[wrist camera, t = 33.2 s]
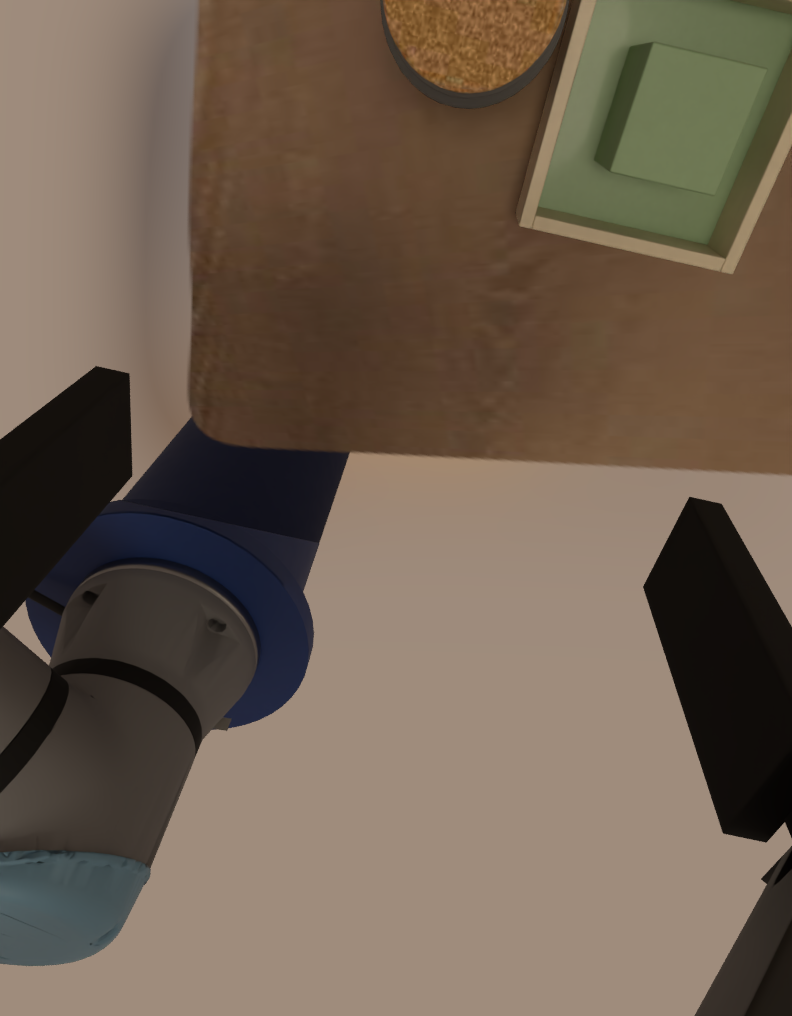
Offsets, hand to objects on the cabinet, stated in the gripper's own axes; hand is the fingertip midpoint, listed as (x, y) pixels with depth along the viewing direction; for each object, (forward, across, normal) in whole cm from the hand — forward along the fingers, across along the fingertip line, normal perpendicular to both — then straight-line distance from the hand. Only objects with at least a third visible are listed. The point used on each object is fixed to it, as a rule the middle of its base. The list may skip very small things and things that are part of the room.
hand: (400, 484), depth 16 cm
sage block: (+22, +8, +8) cm, 25 cm away
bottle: (+23, -1, +10) cm, 25 cm away
